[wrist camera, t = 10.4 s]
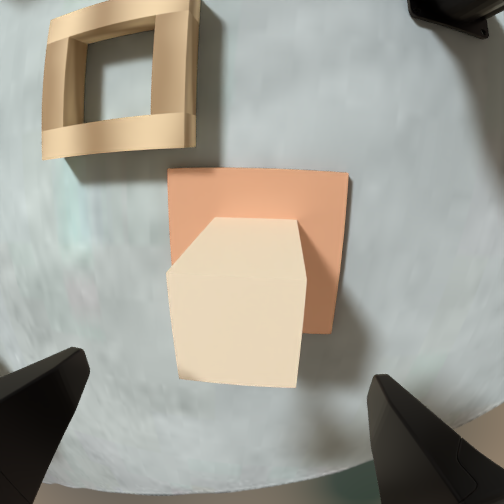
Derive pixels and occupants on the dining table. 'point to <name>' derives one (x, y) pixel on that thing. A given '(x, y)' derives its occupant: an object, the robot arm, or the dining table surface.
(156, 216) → the dining table surface
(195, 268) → the cream block
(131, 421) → the dining table surface
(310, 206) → the terracotta coaster
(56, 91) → the birch pocket holder
